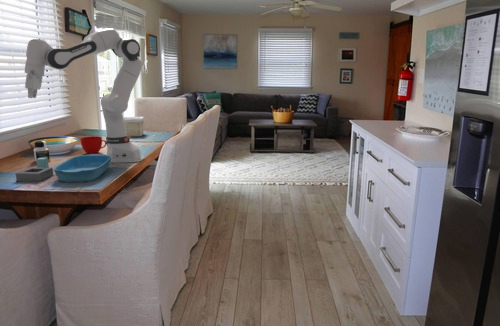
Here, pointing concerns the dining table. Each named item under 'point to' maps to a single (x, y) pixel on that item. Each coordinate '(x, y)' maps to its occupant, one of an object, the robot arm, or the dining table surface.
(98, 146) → the ceramic cup
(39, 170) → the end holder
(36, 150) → the medicine bottle
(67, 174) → the casserole dish
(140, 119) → the storage basket
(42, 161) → the block
